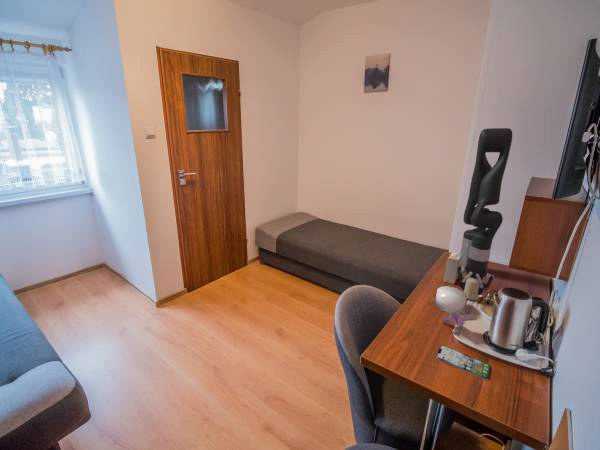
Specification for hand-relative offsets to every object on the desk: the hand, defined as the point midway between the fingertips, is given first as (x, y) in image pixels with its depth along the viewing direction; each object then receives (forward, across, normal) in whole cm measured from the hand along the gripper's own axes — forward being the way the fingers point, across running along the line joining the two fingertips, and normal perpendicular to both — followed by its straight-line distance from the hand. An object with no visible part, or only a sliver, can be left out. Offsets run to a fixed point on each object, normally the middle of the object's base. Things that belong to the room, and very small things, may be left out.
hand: (471, 291), depth 131 cm
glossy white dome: (+3, +5, +12) cm, 14 cm away
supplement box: (+3, +11, -11) cm, 16 cm away
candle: (+3, 0, 0) cm, 3 cm away
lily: (+3, -2, +27) cm, 27 cm away
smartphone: (+3, -8, +42) cm, 43 cm away
